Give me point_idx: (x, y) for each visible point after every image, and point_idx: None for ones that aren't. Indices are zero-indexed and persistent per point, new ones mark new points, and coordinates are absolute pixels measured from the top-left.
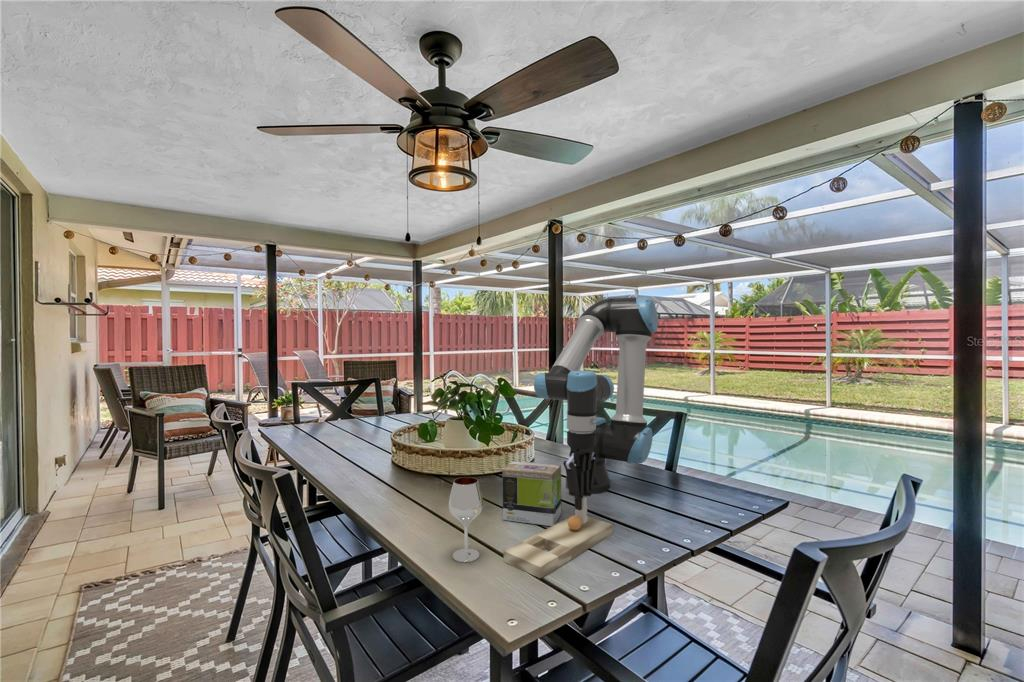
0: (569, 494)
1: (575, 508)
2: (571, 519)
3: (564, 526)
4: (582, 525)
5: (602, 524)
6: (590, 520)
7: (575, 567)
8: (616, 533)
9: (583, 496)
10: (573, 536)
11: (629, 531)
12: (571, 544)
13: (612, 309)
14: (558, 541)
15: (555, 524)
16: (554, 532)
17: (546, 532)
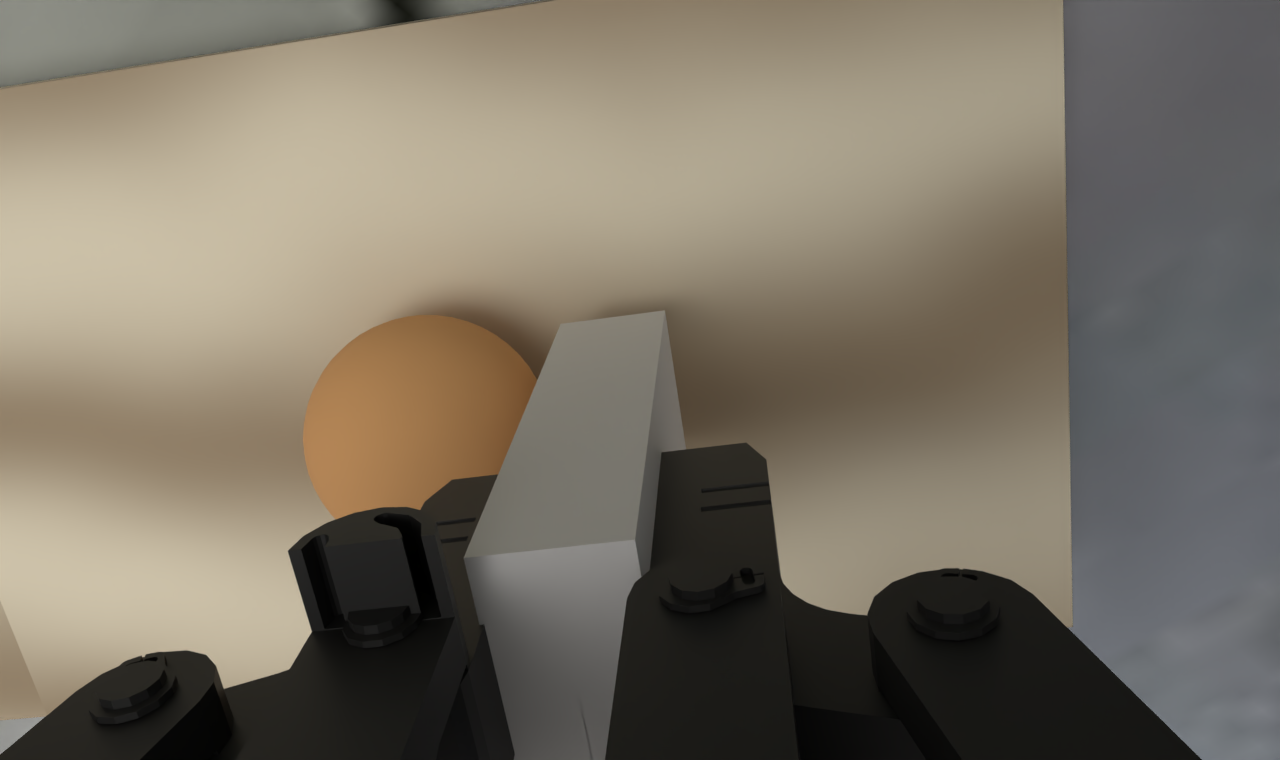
0: (95, 681)
1: (444, 500)
2: (320, 473)
3: (402, 205)
4: (674, 369)
5: (956, 537)
6: (943, 323)
7: None
8: (1084, 576)
9: (597, 742)
10: (289, 525)
11: (1269, 646)
12: (116, 651)
13: None
14: (12, 495)
15: (326, 37)
16: (125, 258)
17: (11, 175)
